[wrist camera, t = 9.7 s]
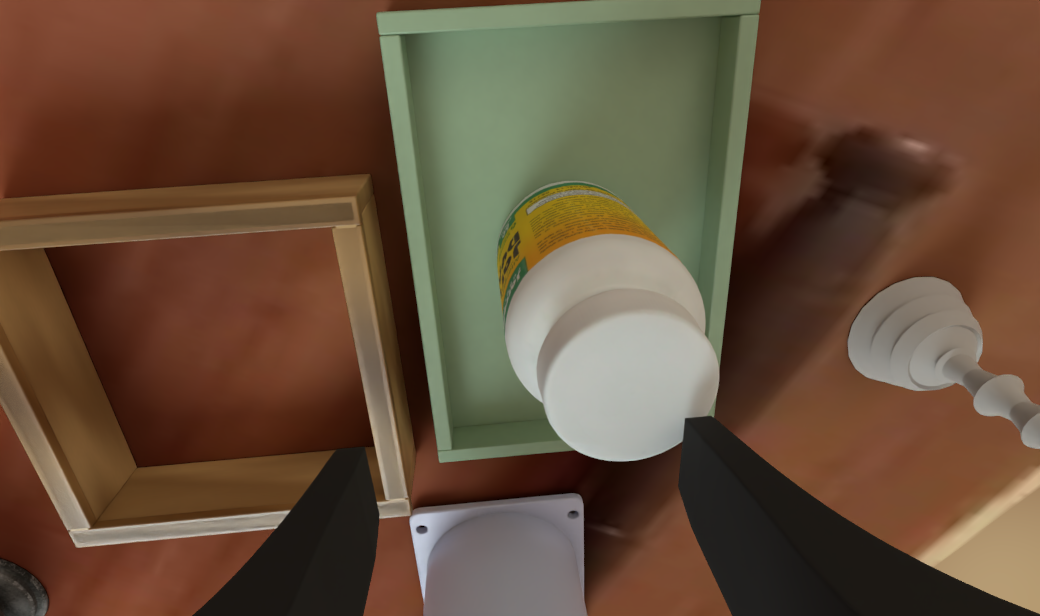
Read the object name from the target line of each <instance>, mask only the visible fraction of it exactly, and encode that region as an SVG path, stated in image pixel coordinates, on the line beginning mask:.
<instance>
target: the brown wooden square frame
mask: <svg viewBox="0 0 1040 616" xmlns="http://www.w3.org/2000/svg"><path fill="white" fill-rule="evenodd" d="M373 192H374V190H373V184H372V177H371V175H370V174H357V175H343V176H328V177H313V178H299V179H284V180H269V181H255V182H240V183H225V184H210V185H196V186H181V187H166V188H152V189H137V190H122V191H108V192H93V193H78V194H63V195H49V196H34V197H19V198H5V199H0V403H1V405H2V407H3V409H4V411H5V413H6V415H7V417H8V419H9V421H10V422H11V424H12V426H13V428H14V430H15V432H16V434H17V436H18V438H19V440H20V442H21V443H22V445H23V447H24V449H25V451H26V453H27V455H28V457H29V459H30V461H31V463H32V464H33V466H34V468H35V470H36V472H37V474H38V476H39V478H40V480H41V482H42V483H43V485H44V487H45V489H46V491H47V493H48V495H49V497H50V499H51V501H52V503H53V504H54V506H55V508H56V510H57V512H58V514H59V516H60V518H61V520H62V522H63V523H64V525H65V527H66V529H67V530H68V533H69V535H70V537H71V539H72V541H73V543H74V544H75V546H76V548H81V547H91V546H102V545H112V544H122V543H133V542H143V541H154V540H164V539H174V538H185V537H195V536H206V535H216V534H226V533H237V532H247V531H258V530H268V529H276V528H277V527H278V526H279V524H280V523H281V522H282V521H283V519H284V518H285V517H286V516H287V514H288V513H289V512H290V511H291V509H292V508H293V507H294V505H295V504H296V503H297V502H298V500H299V499H300V498H301V497H302V495H303V494H304V493H305V491H306V490H307V488H308V487H309V486H310V484H311V483H312V482H313V480H314V479H315V478H316V476H317V475H318V474H319V472H320V471H321V469H322V468H323V467H324V465H325V464H326V462H327V461H328V460H329V458H330V457H331V456H332V454H333V453H334V452H335V451H336V450H330V451H319V452H308V453H297V454H286V455H275V456H264V457H252V458H241V459H230V460H219V461H208V462H197V463H186V464H175V465H164V466H153V467H142V468H137V466H136V463H135V461H134V459H133V456H132V454H131V452H130V449H129V447H128V445H127V442H126V440H125V438H124V435H123V433H122V431H121V428H120V426H119V424H118V421H117V419H116V417H115V414H114V412H113V410H112V407H111V405H110V402H109V400H108V398H107V395H106V393H105V391H104V388H103V386H102V384H101V381H100V379H99V377H98V374H97V372H96V370H95V367H94V365H93V363H92V360H91V358H90V356H89V353H88V351H87V349H86V346H85V344H84V342H83V339H82V337H81V335H80V332H79V330H78V328H77V325H76V323H75V321H74V318H73V316H72V314H71V311H70V309H69V307H68V304H67V302H66V299H65V297H64V295H63V292H62V290H61V288H60V285H59V283H58V281H57V278H56V276H55V274H54V271H53V269H52V267H51V264H50V262H49V260H48V257H47V255H46V253H45V250H44V248H48V247H62V246H76V245H89V244H103V243H117V242H131V241H145V240H159V239H173V238H186V237H200V236H214V235H228V234H242V233H256V232H270V231H284V230H297V229H311V228H325V227H332V233H333V238H334V243H335V248H336V253H337V258H338V263H339V268H340V274H341V279H342V284H343V289H344V294H345V299H346V304H347V309H348V314H349V319H350V324H351V329H352V334H353V339H354V344H355V349H356V354H357V359H358V364H359V369H360V374H361V379H362V384H363V389H364V394H365V399H366V404H367V409H368V415H369V420H370V425H371V430H372V435H373V440H374V445H375V446H374V447H365V450H366V454H367V459H368V464H369V468H370V473H371V477H372V482H373V487H374V491H375V496H376V500H377V505H378V510H379V514H380V515H379V519H382V518H393V517H403V516H411V515H412V511H413V507H412V501H411V494H412V486H413V478H414V470H415V462H416V450H415V444H414V438H413V432H412V425H411V419H410V413H409V407H408V401H407V394H406V388H405V382H404V376H403V370H402V363H401V357H400V351H399V345H398V339H397V332H396V326H395V320H394V314H393V308H392V301H391V295H390V289H389V283H388V277H387V270H386V264H385V258H384V252H383V246H382V239H381V233H380V227H379V221H378V215H377V209H376V202H375V196H374V194H373Z"/></svg>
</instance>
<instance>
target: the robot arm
mask: <svg viewBox="0 0 1040 616" xmlns="http://www.w3.org/2000/svg"><path fill="white" fill-rule="evenodd" d="M678 487H679V490H680V493H681V497H682V500H683V503H684V506H685V509H686V512H687V515H688V518H689V521H690V524H691V527H692V530H693V532H694V534H695V536H696V539H697V541H698V543H699V545H700V547H701V549H702V552H703V554H704V556H705V558H706V560H707V562H708V565H709V567H710V569H711V571H712V573H713V575H714V577H715V579H716V582H717V584H718V586H719V588H720V590H721V592H722V594H723V597H724V599H725V601H726V603H727V605H728V607H729V609H730V611H731V614H732V616H1040V614H1038V613H1036V612H1033V611H1030V610H1028V609H1025V608H1023V607H1020V606H1018V605H1015V604H1013V603H1010V602H1008V601H1005V600H1003V599H1000V598H998V597H995V596H993V595H991V594H988V593H986V592H984V591H982V590H980V589H977V588H975V587H973V586H971V585H969V584H966V583H964V582H962V581H959V580H958V579H955V578H953V577H951V576H949V575H947V574H945V573H943V572H941V571H939V570H937V569H935V568H933V567H931V566H929V565H927V564H925V563H923V562H921V561H919V560H917V559H915V558H913V557H911V556H910V555H908V554H906V553H904V552H902V551H900V550H898V549H896V548H894V547H893V546H891V545H889V544H887V543H885V542H884V541H882V540H880V539H878V538H877V537H875V536H873V535H872V534H870V533H868V532H867V531H865V530H863V529H862V528H860V527H859V526H857V525H855V524H854V523H852V522H850V521H849V520H847V519H846V518H844V517H842V516H841V515H839V514H838V513H836V512H835V511H833V510H832V509H830V508H829V507H827V506H826V505H824V504H823V503H821V502H820V501H819V500H817V499H816V498H814V497H813V496H811V495H810V494H809V493H807V492H806V491H804V490H803V489H802V488H800V487H799V486H798V485H796V484H795V483H794V482H792V481H791V480H790V479H788V478H787V477H786V476H784V475H783V474H782V473H780V472H779V471H778V470H777V469H775V468H774V467H773V466H772V465H770V464H769V463H768V462H766V461H765V460H764V459H763V458H762V457H760V456H759V455H758V454H757V453H755V452H754V451H753V450H752V449H751V448H749V447H748V446H747V445H746V444H745V443H743V442H742V441H741V440H740V439H739V438H738V437H736V436H735V435H734V434H733V433H732V432H730V431H729V430H728V429H727V428H726V427H725V426H723V425H722V424H721V423H720V422H719V421H717V420H716V419H715V418H714V417H712V416H703V417H692V418H685V423H684V433H683V443H682V453H681V464H680V474H679V484H678ZM570 511H575V512H573V513H569V512H570ZM379 515H380V514H379V510H378V505H377V500H376V496H375V491H374V487H373V482H372V477H371V473H370V468H369V464H368V459H367V454H366V450H365V447H355V448H344V449H337V450H336V451H335V452H334V453H333V454H332V456H331V457H330V458H329V460H328V461H327V462H326V464H325V465H324V467H323V468H322V469H321V471H320V472H319V474H318V475H317V476H316V478H315V479H314V480H313V482H312V483H311V484H310V486H309V487H308V488H307V490H306V491H305V493H304V494H303V495H302V497H301V498H300V499H299V500H298V502H297V503H296V504H295V505H294V507H293V508H292V509H291V511H290V512H289V513H288V514H287V516H286V517H285V518H284V519H283V521H282V522H281V523H280V524H279V526H278V527H277V528H276V529H275V530H274V532H273V533H272V534H271V535H270V536H269V537H268V539H267V540H266V541H265V542H264V543H263V544H262V546H261V547H260V548H259V549H258V550H257V551H256V552H255V554H254V555H253V556H252V557H251V558H250V559H249V560H248V561H247V563H246V564H245V565H244V566H243V567H242V568H241V569H240V570H239V571H238V572H237V573H236V574H235V575H234V576H233V577H232V578H231V579H230V580H229V581H228V582H227V583H226V584H225V585H224V586H223V587H222V588H221V589H220V590H219V591H218V592H217V593H216V594H215V595H214V596H213V597H212V598H211V599H210V600H209V601H208V602H207V603H206V604H205V605H204V606H203V607H202V608H200V609H199V610H198V611H197V612H196V613H195V614H194V615H193V616H363V613H364V609H365V604H366V600H367V595H368V591H369V586H370V581H371V577H372V572H373V567H374V562H375V557H376V547H377V538H378V526H379ZM409 522H410V528H411V533H412V539H413V545H414V550H415V556H416V561H417V567H418V572H419V578H420V584H421V589H422V595H423V600H424V611H423V616H587V612H586V607H585V602H584V505H583V500H582V497H581V496H580V495H579V494H576V493H567V494H557V495H547V496H536V497H526V498H515V499H505V500H494V501H484V502H473V503H463V504H452V505H442V506H432V507H421V508H416V509H414V510H413V511H412V515H411V516H410V521H409ZM420 525H423V526H426V527H419V526H420Z"/></svg>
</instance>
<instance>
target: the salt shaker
mask: <svg viewBox="0 0 1040 616" xmlns="http://www.w3.org/2000/svg"><path fill="white" fill-rule="evenodd" d="M48 601H49V600H48V597H47V594H46V591H45V589H44V588H43V586H42V585H41V584H40V582H39V581H38V580H37V579H36V578H35V577H34V576H32V575H31V574H30V573H29V572H28V571H26V570H25V569H23V568H21V567H19V566H17V565H15V564H13V563H11V562H9V561H6V560H3V559H0V616H44V615H45V614H46V612H47V610H48Z"/></svg>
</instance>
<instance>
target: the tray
mask: <svg viewBox="0 0 1040 616" xmlns="http://www.w3.org/2000/svg"><path fill="white" fill-rule="evenodd" d="M760 4H761V0H590V1H571V2H553V3H535V4H517V5H498V6H480V7H462V8H444V9H426V10H407V11H389V12H378V13H377V14H376V17H377V24H378V32H379V34H380V35H382V36H380V38H379V39H380V46H381V53H382V60H383V67H384V74H385V81H386V88H387V95H388V102H389V110H390V117H391V124H392V131H393V138H394V145H395V152H396V159H397V166H398V173H399V181H400V188H401V195H402V202H403V209H404V216H405V223H406V230H407V237H408V244H409V251H410V259H411V266H412V273H413V280H414V287H415V294H416V301H417V308H418V315H419V322H420V330H421V337H422V344H423V351H424V358H425V365H426V372H427V379H428V386H429V393H430V400H431V408H432V415H433V422H434V429H435V436H436V443H437V449H438V458H439V462H440V463H442V462H453V461H464V460H475V459H485V458H496V457H507V456H518V455H529V454H540V453H551V452H561V451H572V450H575V449H573V448H572V447H570V446H569V445H568V444H567V443H565V442H564V441H563V440H562V439H561V438H560V437H559V436H558V434H557V433H556V432H555V430H554V429H553V427H552V426H551V424H550V423H549V421H548V418H547V415H546V413H545V409H544V405H543V403H542V402H540V401H539V400H538V399H536V398H535V397H534V396H533V395H532V394H531V393H530V392H529V391H528V390H527V389H526V388H525V386H524V385H523V384H522V382H521V381H520V380H519V378H518V376H517V375H516V373H515V371H514V369H513V367H512V364H511V361H510V358H509V355H508V351H507V347H506V343H505V338H504V324H503V313H502V304H501V298H500V296H501V295H500V288H499V278H498V270H497V242H498V237H499V234H500V231H501V228H502V226H503V224H504V223H505V221H506V219H507V217H508V216H509V214H510V213H511V212H512V210H513V209H514V208H515V207H516V206H517V205H518V204H519V203H520V202H521V201H522V200H523V199H524V198H525V197H527V196H528V195H529V194H531V193H532V192H534V191H535V190H537V189H539V188H541V187H543V186H545V185H548V184H551V183H556V182H561V181H584V182H589V183H593V184H596V185H599V186H601V187H603V188H605V189H607V190H609V191H611V192H612V193H614V194H615V195H616V196H618V197H619V198H620V199H621V200H622V201H623V202H624V203H625V204H626V205H627V206H628V207H629V208H630V209H631V210H632V211H633V212H634V213H635V214H636V215H637V216H638V217H639V218H640V219H641V220H642V222H643V223H644V224H645V225H646V226H647V227H648V228H649V229H650V230H651V231H652V232H653V233H654V234H655V235H656V236H657V237H658V238H659V239H660V240H661V241H662V242H663V243H664V244H665V246H667V248H668V249H669V250H670V251H671V252H672V253H674V254H675V255H676V257H677V258H678V259H679V260H680V261H681V263H682V264H683V265H684V266H685V267H686V269H687V270H688V272H689V273H690V274H691V276H692V277H693V279H694V281H695V283H696V285H697V286H698V289H699V291H700V294H701V297H702V300H703V304H704V309H705V336H706V337H707V338H708V340H709V341H710V343H711V345H712V347H713V349H714V351H715V354H716V357H717V361H718V365H719V368H720V359H721V350H722V341H723V332H724V323H725V314H726V306H727V297H728V288H729V279H730V270H731V261H732V252H733V243H734V235H735V226H736V217H737V208H738V199H739V190H740V181H741V172H742V164H743V155H744V146H745V137H746V128H747V119H748V110H749V102H750V93H751V84H752V75H753V66H754V57H755V48H756V39H757V31H758V22H759V15H758V13H759V12H760ZM715 403H716V398H715V400H714V403H713V405H712V408H711V409H710V411H709V413H708V415H707V416H712V417H714V412H715Z"/></svg>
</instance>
